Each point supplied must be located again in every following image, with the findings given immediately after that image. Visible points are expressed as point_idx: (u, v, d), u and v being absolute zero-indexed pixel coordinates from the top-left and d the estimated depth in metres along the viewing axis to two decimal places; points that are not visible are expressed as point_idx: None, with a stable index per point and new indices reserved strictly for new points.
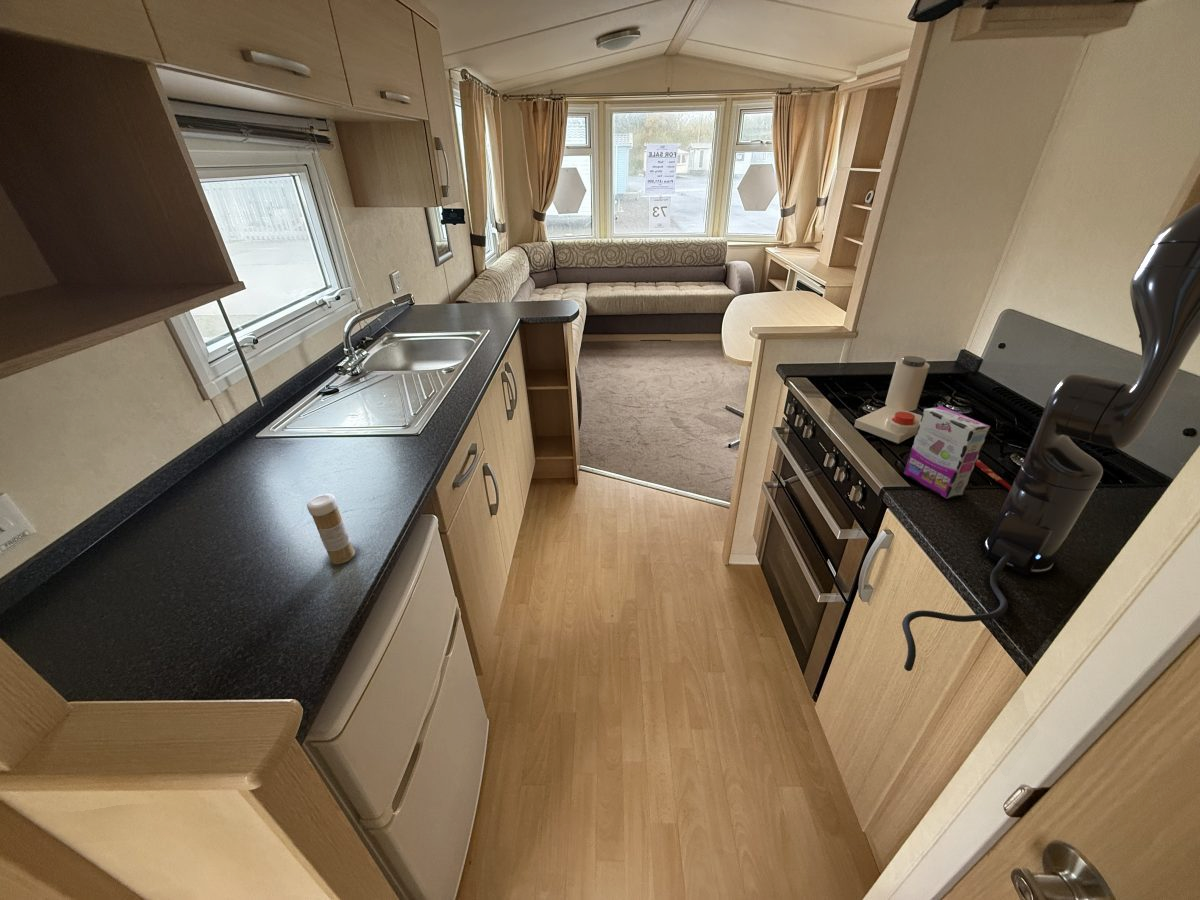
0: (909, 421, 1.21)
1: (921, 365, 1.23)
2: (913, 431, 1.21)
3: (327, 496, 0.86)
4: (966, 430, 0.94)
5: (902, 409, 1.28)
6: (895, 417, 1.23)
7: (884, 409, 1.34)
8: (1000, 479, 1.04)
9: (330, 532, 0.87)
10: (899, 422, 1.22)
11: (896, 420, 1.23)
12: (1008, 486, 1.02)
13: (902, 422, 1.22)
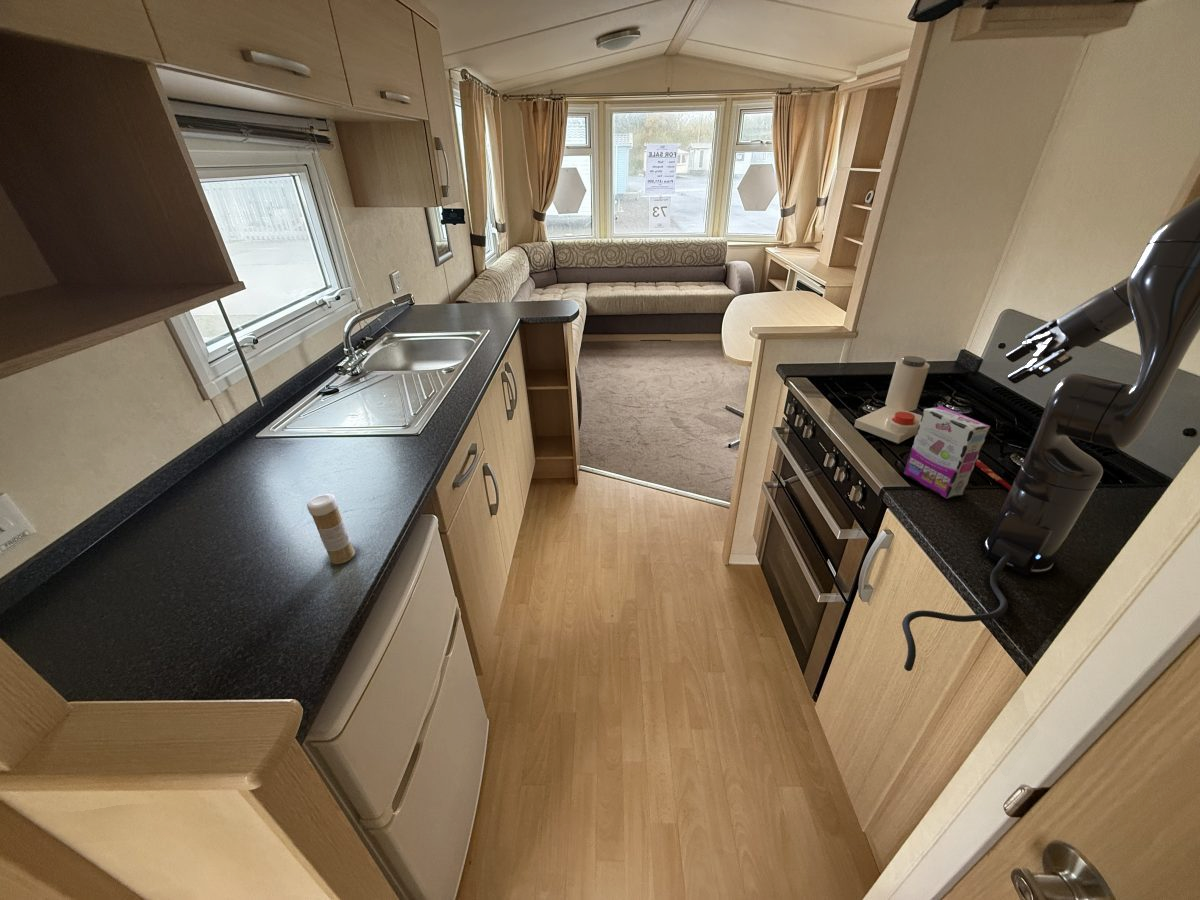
0: (909, 421, 1.21)
1: (921, 365, 1.23)
2: (913, 431, 1.21)
3: (327, 496, 0.86)
4: (966, 430, 0.94)
5: (902, 409, 1.28)
6: (895, 417, 1.23)
7: (884, 409, 1.34)
8: (1000, 479, 1.04)
9: (330, 532, 0.87)
10: (899, 422, 1.22)
11: (896, 420, 1.23)
12: (1008, 486, 1.02)
13: (902, 422, 1.22)
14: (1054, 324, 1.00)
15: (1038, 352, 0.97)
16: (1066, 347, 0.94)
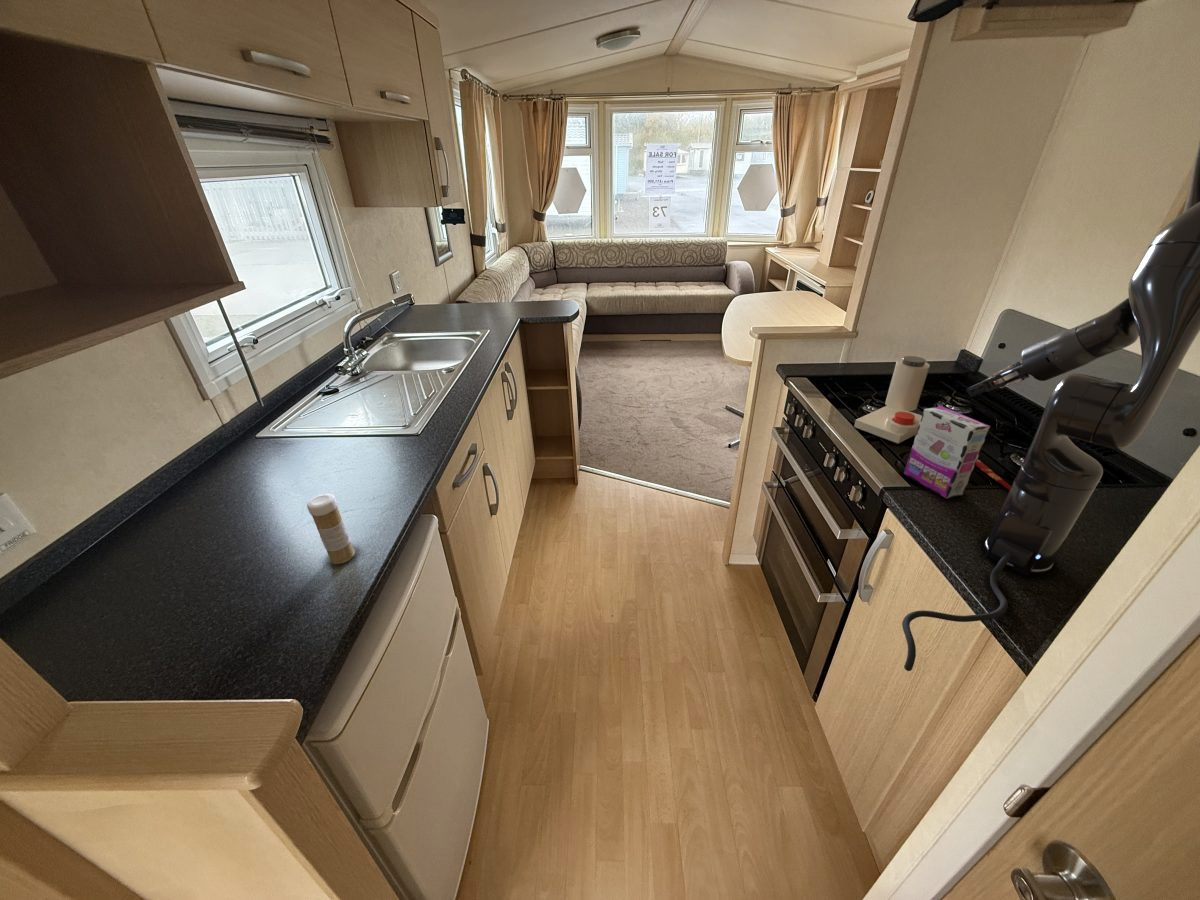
0: (909, 421, 1.21)
1: (921, 365, 1.23)
2: (913, 431, 1.21)
3: (327, 496, 0.86)
4: (966, 430, 0.94)
5: (902, 409, 1.28)
6: (895, 417, 1.23)
7: (884, 409, 1.34)
8: (1000, 479, 1.04)
9: (330, 532, 0.87)
10: (899, 422, 1.22)
11: (896, 420, 1.23)
12: (1008, 486, 1.02)
13: (902, 422, 1.22)
14: None
15: (997, 372, 1.03)
16: (1019, 372, 0.97)
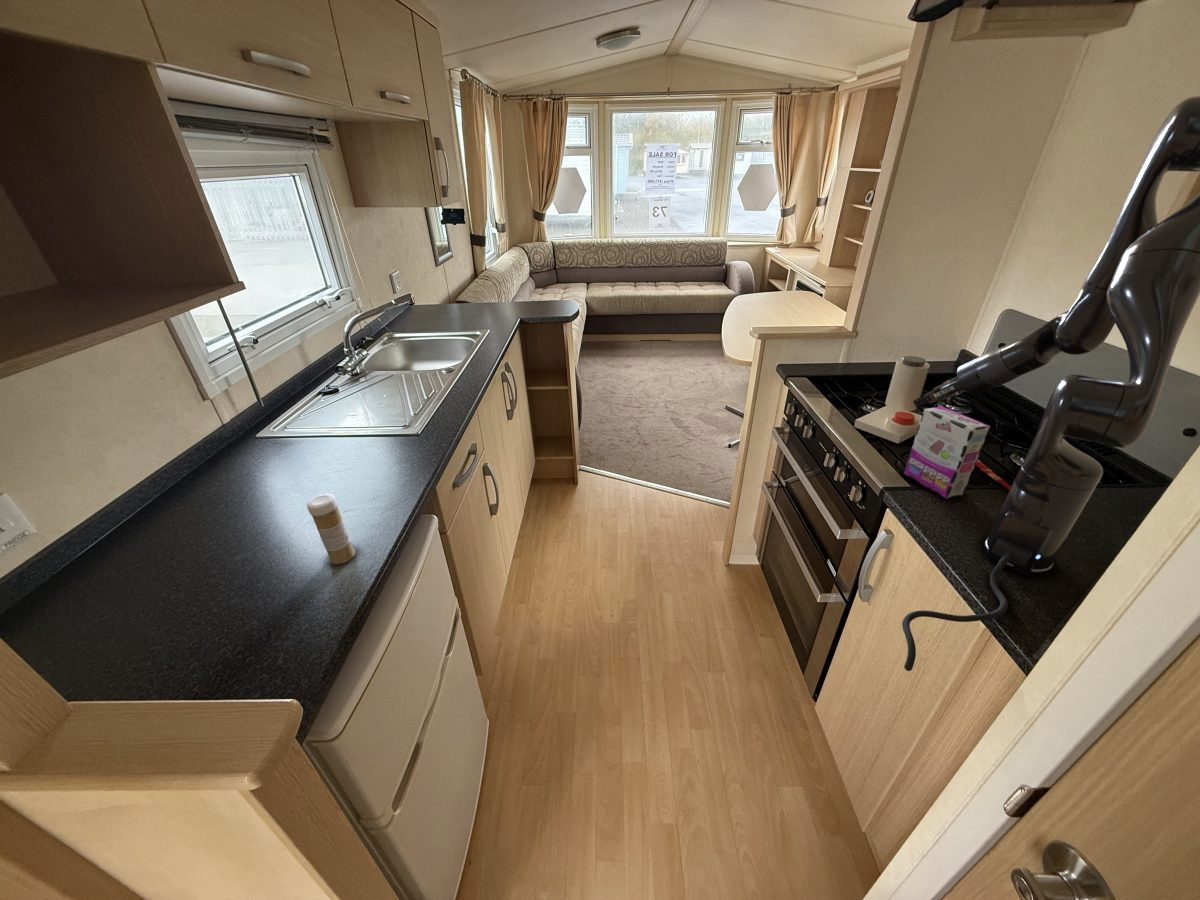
0: (909, 421, 1.21)
1: (921, 365, 1.23)
2: (913, 431, 1.21)
3: (327, 496, 0.86)
4: (966, 430, 0.94)
5: (902, 409, 1.28)
6: (895, 417, 1.23)
7: (884, 409, 1.34)
8: (1000, 479, 1.04)
9: (330, 532, 0.87)
10: (899, 422, 1.22)
11: (896, 420, 1.23)
12: (1007, 486, 1.02)
13: (902, 422, 1.22)
14: None
15: None
16: (954, 387, 1.08)
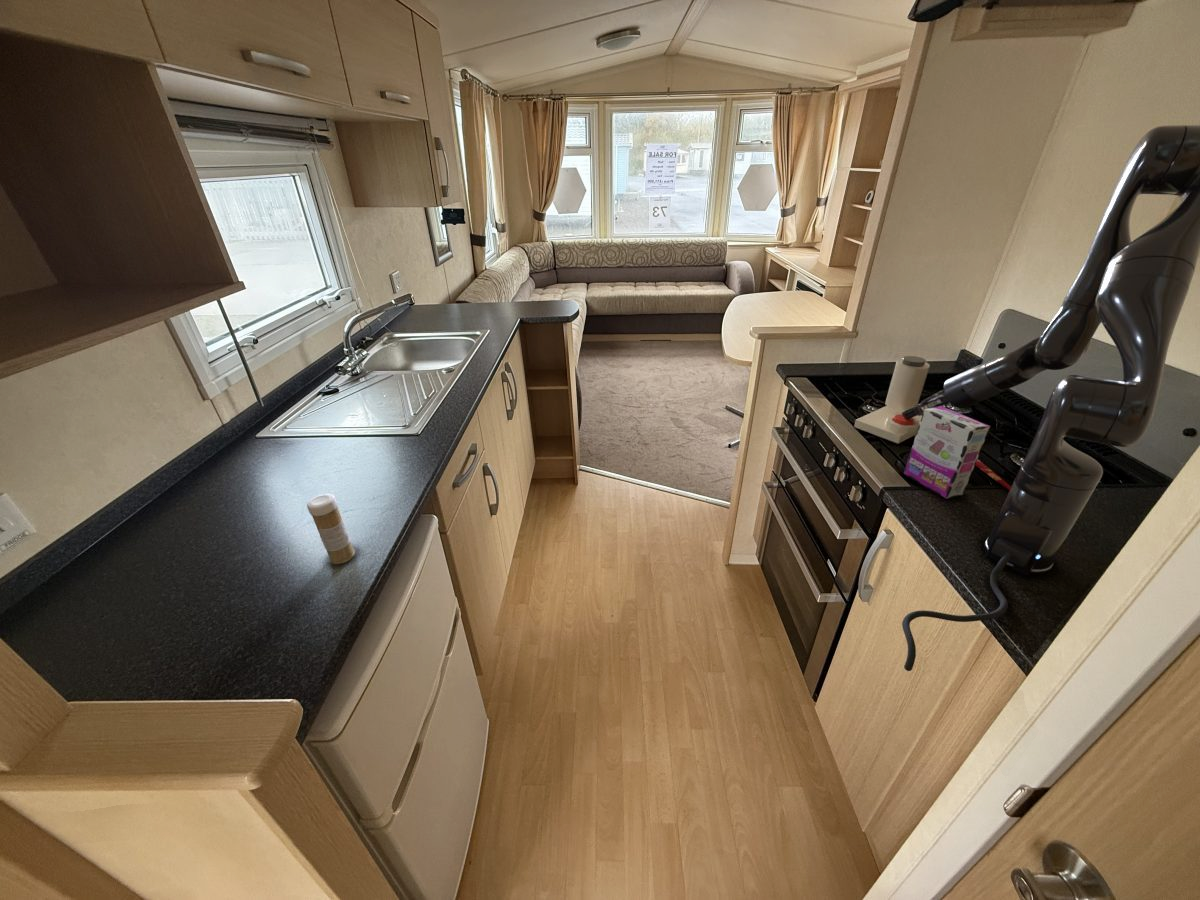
0: (908, 424, 1.21)
1: (921, 365, 1.23)
2: (913, 431, 1.21)
3: (327, 496, 0.86)
4: (966, 430, 0.94)
5: (902, 409, 1.28)
6: (894, 420, 1.24)
7: (884, 409, 1.34)
8: (1000, 479, 1.04)
9: (330, 532, 0.87)
10: None
11: None
12: (1007, 486, 1.02)
13: None
14: None
15: (925, 399, 1.16)
16: (941, 400, 1.11)
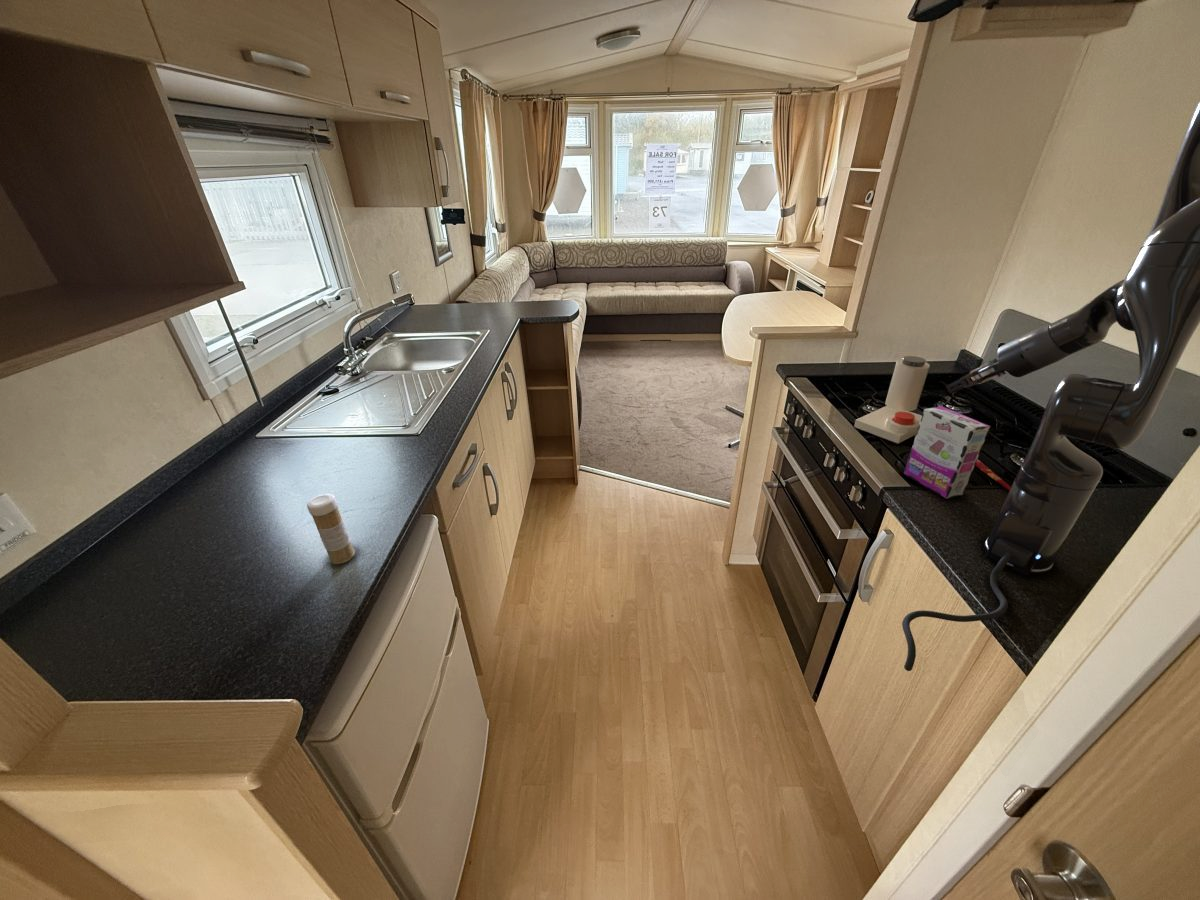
0: (909, 421, 1.21)
1: (921, 365, 1.23)
2: (913, 431, 1.21)
3: (327, 496, 0.86)
4: (966, 430, 0.94)
5: (902, 409, 1.28)
6: (895, 417, 1.23)
7: (884, 409, 1.34)
8: (999, 479, 1.04)
9: (330, 532, 0.87)
10: (899, 422, 1.22)
11: (896, 420, 1.23)
12: (1007, 486, 1.02)
13: (902, 422, 1.22)
14: None
15: (975, 369, 1.06)
16: (995, 369, 1.00)
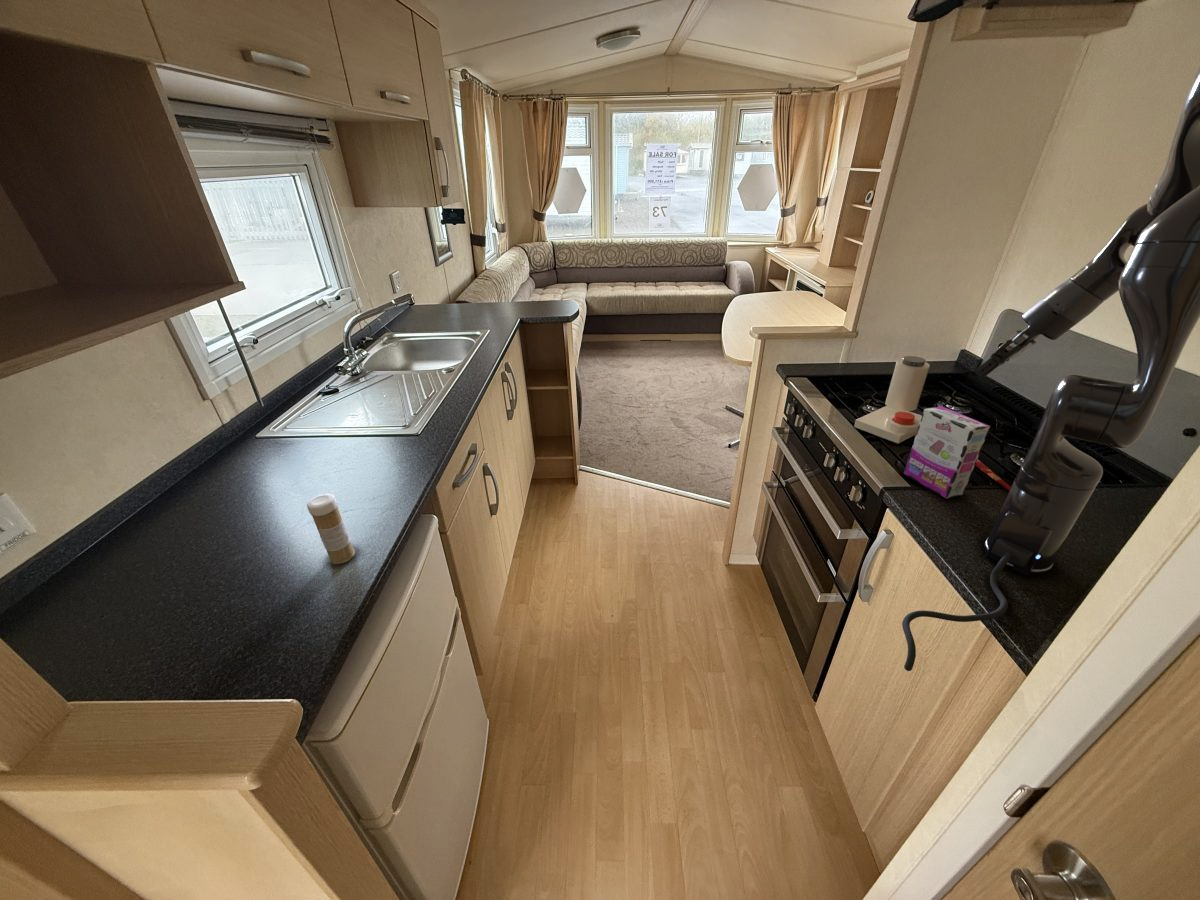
0: (909, 421, 1.21)
1: (921, 365, 1.23)
2: (913, 431, 1.21)
3: (327, 496, 0.86)
4: (966, 430, 0.94)
5: (902, 409, 1.28)
6: (895, 417, 1.23)
7: (884, 409, 1.34)
8: (999, 479, 1.04)
9: (330, 532, 0.87)
10: (899, 422, 1.22)
11: (896, 420, 1.23)
12: (1007, 486, 1.02)
13: (902, 422, 1.22)
14: None
15: (1002, 344, 1.00)
16: (1028, 334, 0.94)
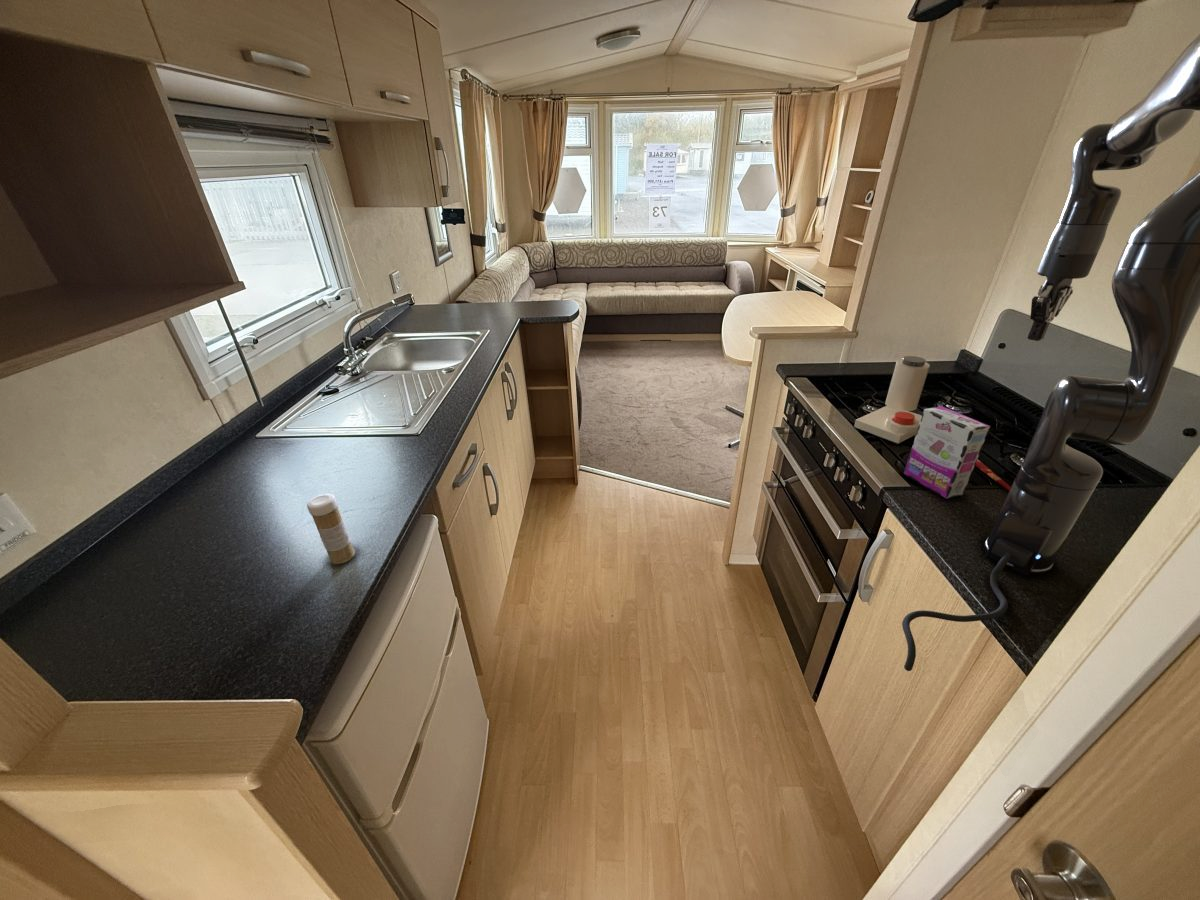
0: (909, 421, 1.21)
1: (921, 365, 1.23)
2: (913, 431, 1.21)
3: (327, 496, 0.86)
4: (966, 430, 0.94)
5: (902, 409, 1.28)
6: (895, 417, 1.23)
7: (884, 409, 1.34)
8: (999, 479, 1.04)
9: (330, 532, 0.87)
10: (899, 422, 1.22)
11: (896, 420, 1.23)
12: (1007, 486, 1.02)
13: (902, 422, 1.22)
14: None
15: None
16: (1051, 284, 0.91)
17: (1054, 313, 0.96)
